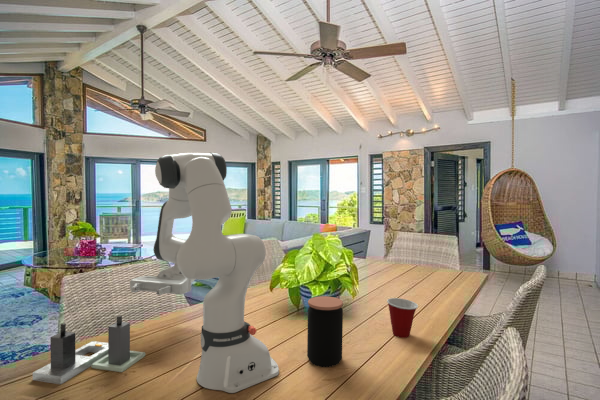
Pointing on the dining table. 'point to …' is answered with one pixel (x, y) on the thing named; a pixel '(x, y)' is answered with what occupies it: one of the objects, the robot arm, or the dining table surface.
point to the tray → (104, 365)
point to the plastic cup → (401, 316)
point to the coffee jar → (325, 331)
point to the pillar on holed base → (68, 358)
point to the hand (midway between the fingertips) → (145, 291)
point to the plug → (118, 342)
